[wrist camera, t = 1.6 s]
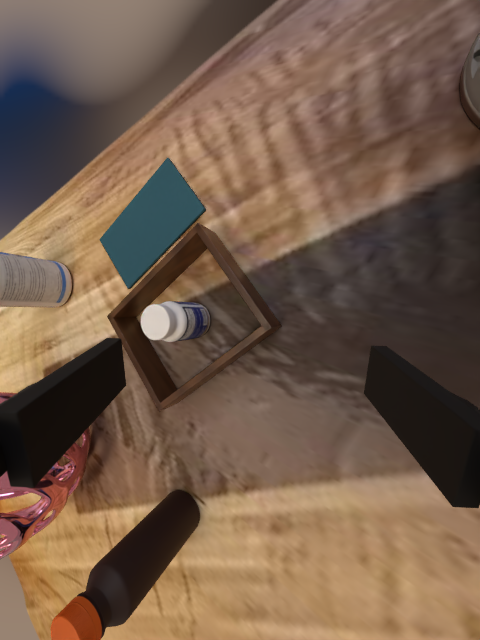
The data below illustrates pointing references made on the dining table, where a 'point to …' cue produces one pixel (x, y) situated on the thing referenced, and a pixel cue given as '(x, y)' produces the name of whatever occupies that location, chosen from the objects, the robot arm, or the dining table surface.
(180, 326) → the pill bottle
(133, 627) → the dining table surface
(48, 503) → the spiral basket
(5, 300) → the supplement tub
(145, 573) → the vinegar
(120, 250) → the mat
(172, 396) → the wooden tray
